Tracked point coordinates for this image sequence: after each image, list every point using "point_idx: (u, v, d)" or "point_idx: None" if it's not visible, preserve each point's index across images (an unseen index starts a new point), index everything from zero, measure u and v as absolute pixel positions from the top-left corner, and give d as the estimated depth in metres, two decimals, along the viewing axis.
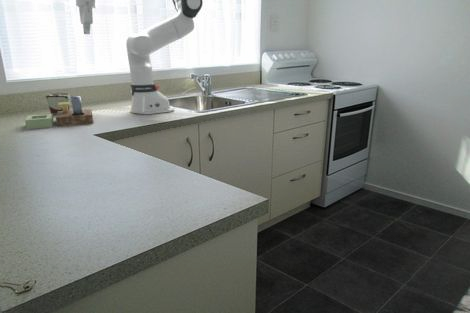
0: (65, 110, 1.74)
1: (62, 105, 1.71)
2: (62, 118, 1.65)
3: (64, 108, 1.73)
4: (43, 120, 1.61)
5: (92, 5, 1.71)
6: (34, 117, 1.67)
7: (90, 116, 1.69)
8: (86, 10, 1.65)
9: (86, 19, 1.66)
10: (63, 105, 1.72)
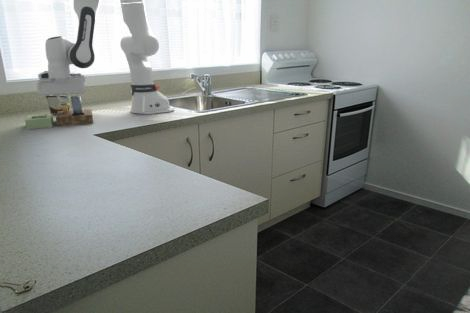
0: (65, 111, 1.74)
1: (62, 106, 1.72)
2: (62, 118, 1.65)
3: (64, 109, 1.74)
4: (43, 120, 1.61)
5: None
6: (34, 117, 1.67)
7: (90, 116, 1.69)
8: (83, 81, 1.73)
9: None
10: (63, 106, 1.72)
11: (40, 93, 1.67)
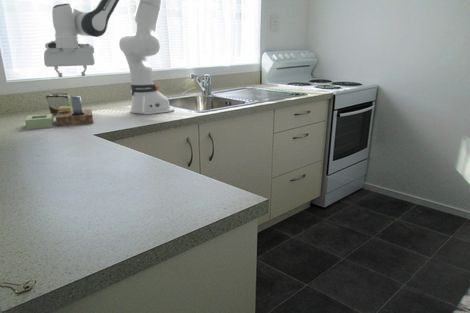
0: None
1: (63, 109, 1.72)
2: (62, 118, 1.65)
3: (65, 112, 1.74)
4: (43, 120, 1.61)
5: None
6: (34, 117, 1.67)
7: (90, 116, 1.69)
8: (92, 52, 1.65)
9: None
10: (64, 109, 1.72)
11: (47, 64, 1.59)
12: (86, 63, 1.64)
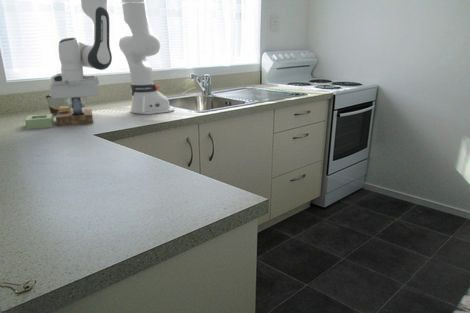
0: None
1: (63, 109, 1.72)
2: (62, 118, 1.65)
3: (65, 112, 1.74)
4: (43, 120, 1.61)
5: None
6: (34, 117, 1.67)
7: (90, 116, 1.69)
8: (97, 84, 1.69)
9: None
10: (64, 109, 1.72)
11: (53, 96, 1.63)
12: (91, 94, 1.68)
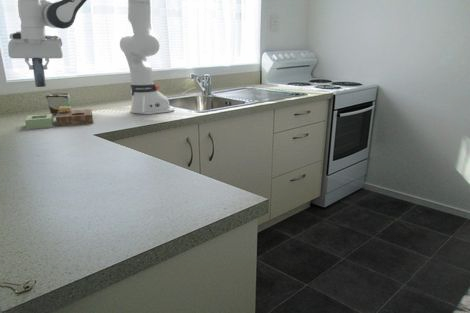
0: None
1: (63, 109, 1.72)
2: (62, 118, 1.65)
3: (65, 112, 1.74)
4: (43, 120, 1.61)
5: None
6: (34, 117, 1.67)
7: (90, 116, 1.69)
8: (60, 45, 1.59)
9: (62, 54, 1.60)
10: (64, 109, 1.72)
11: (12, 55, 1.53)
12: (53, 56, 1.58)
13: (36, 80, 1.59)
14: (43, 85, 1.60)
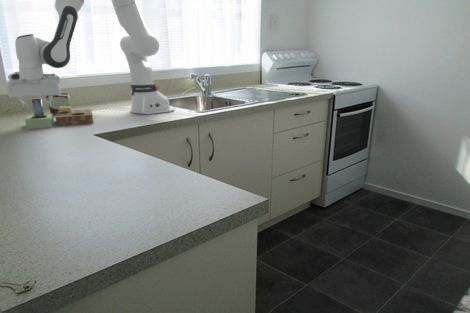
0: None
1: (63, 109, 1.72)
2: (62, 118, 1.65)
3: (65, 112, 1.74)
4: (43, 120, 1.61)
5: None
6: None
7: (90, 116, 1.69)
8: (57, 82, 1.63)
9: (60, 91, 1.64)
10: (64, 109, 1.72)
11: (11, 95, 1.57)
12: (51, 93, 1.62)
13: None
14: None
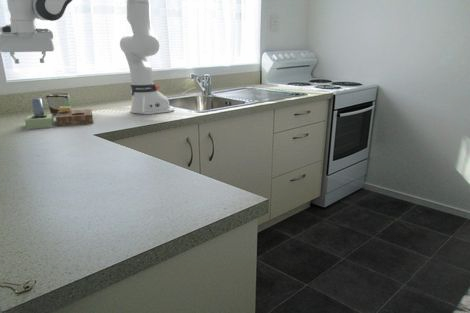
0: None
1: (63, 109, 1.72)
2: (62, 118, 1.65)
3: (65, 112, 1.74)
4: (43, 120, 1.61)
5: None
6: None
7: (90, 116, 1.69)
8: (51, 38, 1.57)
9: (53, 47, 1.58)
10: (64, 109, 1.72)
11: (2, 49, 1.51)
12: (44, 49, 1.57)
13: None
14: None
